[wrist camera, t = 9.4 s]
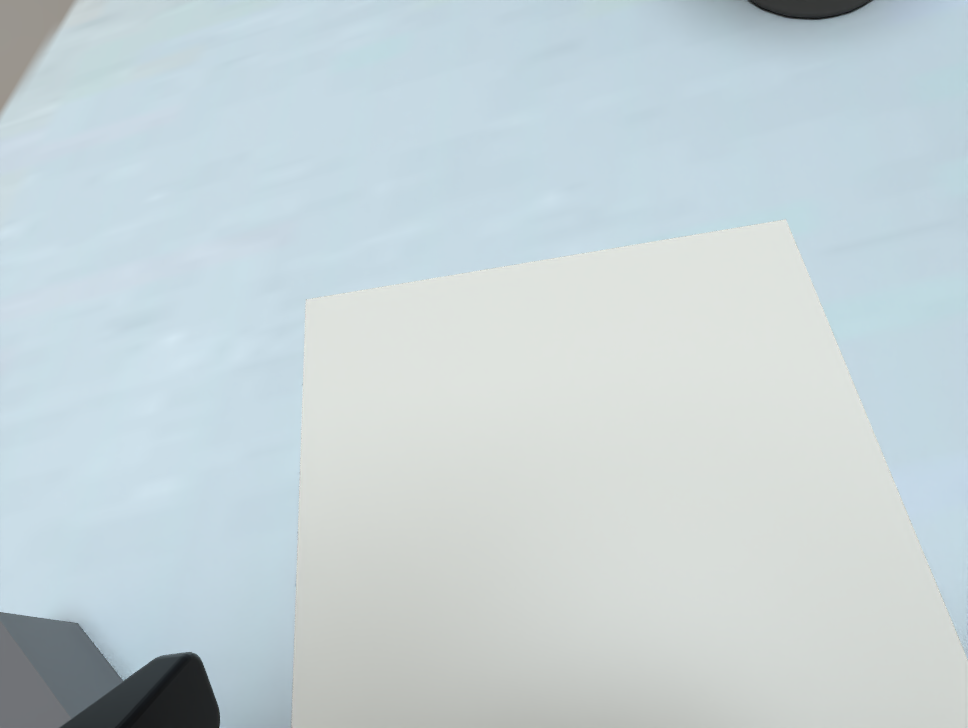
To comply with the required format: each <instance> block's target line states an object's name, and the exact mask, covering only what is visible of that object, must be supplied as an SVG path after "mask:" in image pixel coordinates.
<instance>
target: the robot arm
mask: <svg viewBox="0 0 968 728" xmlns="http://www.w3.org/2000/svg"><path fill="white" fill-rule="evenodd" d="M219 726H220V713H219V707H218V704H217V701H216V698H215V696H214V693H213V690H212V687H211V685H210V682H209V679H208V676H207V673H206V671H205V668H204V665H203V663H202V660H201V658H200V657H199V656H198V655H197V654H195V653H192V652H185V653H177V654H169V655H163V656H160V657H157V658H155V659H154V660H152V661H151V662H149V663H148V664H147V665H145V666H144V667H142V668H141V669H140V670H138V671H137V672H135V673H134V674H133V675H131V676H130V677H129V678H127V679H126V680H124V681H123V682H122V683H120V684H119V685H117V686H116V687H115V688H113V689H112V690H110V691H109V692H108V693H106V694H105V695H103V696H102V697H101V698H99V699H98V700H97V701H95V702H94V703H92V704H91V705H90V706H88V707H87V708H85V709H84V710H83V711H81V712H80V713H78V714H77V715H76V716H74V717H73V718H71V719H70V720H69V721H67V722H66V723H65V724H63V725H62V726H60V727H59V728H219Z"/></svg>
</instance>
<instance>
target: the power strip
mask: <svg viewBox="0 0 968 728" xmlns="http://www.w3.org/2000/svg"><path fill="white" fill-rule="evenodd" d="M122 682H123V680H122V679H121V678H120V676H119V675H118V674H117V673H116V671H115V670H114V669H113V668H112V666H111V665H110V664H109V662H108V661H107V660H106V659H105V657H104V656H103V655H102V654H101V652H100V651H99V650H98V649H97V647H96V646H95V645H94V643H93V642H92V641H91V640H90V638H89V637H88V636H87V635H86V633H85V632H84V631H83V629H82V628H81V627H80V626H79V624H78V623H72V622H65V621H58V620H51V619H44V618H37V617H30V616H23V615H16V614H10V613H3V612H0V728H59V727H60V726H62V725H63V724H65V723H66V722H67V721H69V720H70V719H71V718H73V717H74V716H76V715H77V714H78V713H80V712H81V711H83V710H84V709H85V708H87V707H88V706H90V705H91V704H92V703H94V702H95V701H97V700H98V699H99V698H101V697H102V696H103V695H105V694H106V693H108V692H109V691H110V690H112V689H113V688H115V687H116V686H117V685H119V684H120V683H122Z"/></svg>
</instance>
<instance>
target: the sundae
mask: <svg viewBox="0 0 968 728" xmlns="http://www.w3.org/2000/svg"><path fill="white" fill-rule="evenodd" d="M751 1H752V2H754V3H755V4H757V5H759V6H760V7H762V8H764V9H767V10H769V11H772V12H775V13H778V14H782V15H786V16H791V17H802V18H821V17H827V16H834V15H838V14H842V13H846V12H849V11H851V10H853V9H855V8H857V7H860V6H861V5H863V4H865V3H867V2H868V1H870V0H751Z"/></svg>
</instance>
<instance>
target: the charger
mask: <svg viewBox="0 0 968 728" xmlns="http://www.w3.org/2000/svg"><path fill="white" fill-rule="evenodd" d="M291 728H968V659H967V657H966V654H965V652H964V649H963V647H962V645H961V642H960V640H959V637H958V635H957V632H956V630H955V628H954V625H953V623H952V620H951V618H950V615H949V613H948V611H947V608H946V606H945V603H944V601H943V599H942V596H941V594H940V591H939V589H938V586H937V584H936V582H935V579H934V577H933V574H932V572H931V569H930V567H929V565H928V562H927V560H926V557H925V555H924V552H923V550H922V548H921V545H920V543H919V540H918V538H917V536H916V533H915V531H914V528H913V526H912V523H911V521H910V519H909V516H908V514H907V511H906V509H905V506H904V504H903V502H902V499H901V497H900V494H899V492H898V490H897V487H896V485H895V482H894V480H893V477H892V475H891V473H890V470H889V468H888V465H887V463H886V460H885V458H884V456H883V453H882V451H881V448H880V446H879V443H878V441H877V439H876V436H875V434H874V431H873V429H872V427H871V424H870V422H869V419H868V417H867V414H866V412H865V410H864V407H863V405H862V402H861V400H860V397H859V395H858V393H857V390H856V388H855V385H854V383H853V381H852V378H851V376H850V373H849V371H848V368H847V366H846V364H845V361H844V359H843V356H842V354H841V351H840V349H839V347H838V344H837V342H836V339H835V337H834V335H833V332H832V330H831V327H830V325H829V322H828V320H827V318H826V315H825V313H824V310H823V308H822V305H821V303H820V301H819V298H818V296H817V293H816V291H815V288H814V286H813V284H812V281H811V279H810V276H809V274H808V272H807V269H806V267H805V264H804V262H803V259H802V257H801V255H800V252H799V250H798V247H797V245H796V242H795V240H794V238H793V235H792V233H791V230H790V228H789V226H788V223H787V221H786V220H780V221H774V222H768V223H762V224H756V225H750V226H744V227H738V228H732V229H726V230H720V231H714V232H708V233H702V234H696V235H690V236H684V237H678V238H672V239H666V240H660V241H654V242H648V243H642V244H636V245H630V246H624V247H618V248H612V249H606V250H600V251H594V252H588V253H582V254H576V255H570V256H564V257H558V258H552V259H546V260H540V261H534V262H528V263H522V264H516V265H510V266H504V267H498V268H492V269H486V270H480V271H474V272H468V273H462V274H456V275H450V276H444V277H438V278H432V279H426V280H420V281H414V282H408V283H402V284H396V285H390V286H384V287H378V288H372V289H366V290H360V291H354V292H348V293H342V294H336V295H330V296H324V297H318V298H312V299H306V309H305V339H304V368H303V398H302V427H301V457H300V486H299V516H298V545H297V574H296V604H295V633H294V663H293V692H292V722H291Z"/></svg>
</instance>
